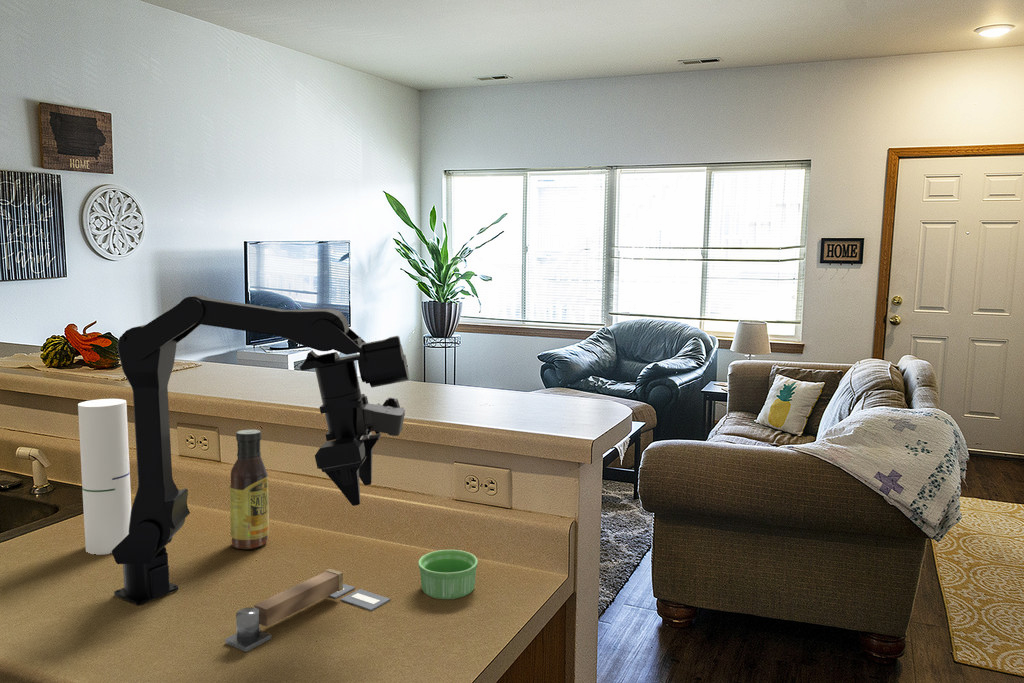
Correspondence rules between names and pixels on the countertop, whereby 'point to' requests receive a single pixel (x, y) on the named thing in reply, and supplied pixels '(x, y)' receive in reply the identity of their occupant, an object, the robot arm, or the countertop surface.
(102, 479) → the cylindrical container
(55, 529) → the countertop surface
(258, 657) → the countertop surface
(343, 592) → the label tile
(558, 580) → the countertop surface
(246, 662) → the countertop surface
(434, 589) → the ramekin
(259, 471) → the sauce bottle
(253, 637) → the post on base plate
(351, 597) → the label tile
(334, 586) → the bar
